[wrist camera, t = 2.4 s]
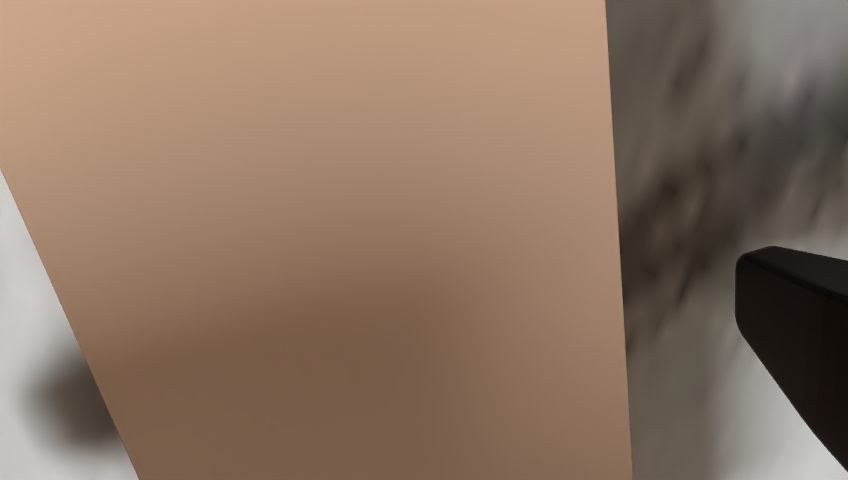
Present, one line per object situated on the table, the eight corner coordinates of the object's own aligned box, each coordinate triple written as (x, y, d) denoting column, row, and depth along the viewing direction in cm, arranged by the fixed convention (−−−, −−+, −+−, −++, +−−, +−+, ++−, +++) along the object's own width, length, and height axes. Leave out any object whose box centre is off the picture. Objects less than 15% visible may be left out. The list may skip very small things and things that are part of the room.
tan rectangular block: (525, 560, 12) (654, 834, 9) (306, 634, 12) (351, 955, 8) (418, -140, 8) (596, -138, 4) (54, -69, 7) (-76, -2, 4)
